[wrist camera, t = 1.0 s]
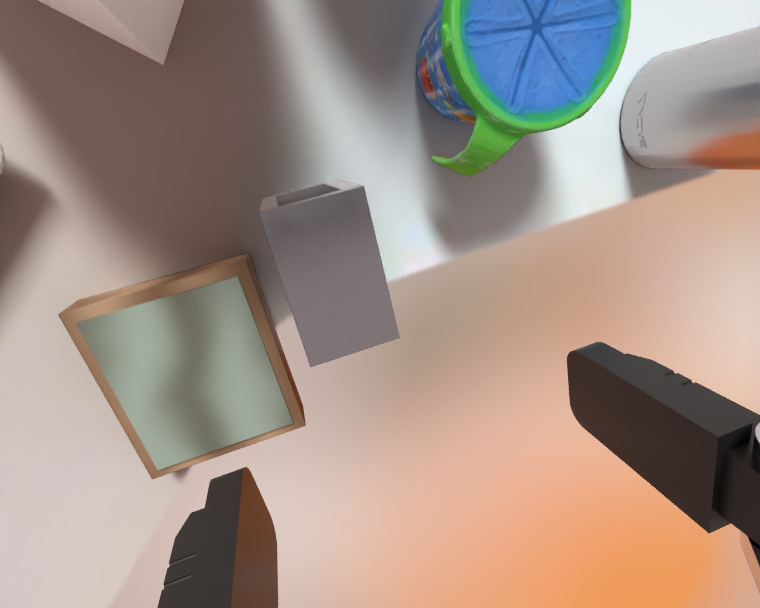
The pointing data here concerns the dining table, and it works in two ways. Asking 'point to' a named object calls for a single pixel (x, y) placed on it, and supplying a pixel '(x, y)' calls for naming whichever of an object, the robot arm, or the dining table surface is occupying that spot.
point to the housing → (330, 268)
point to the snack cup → (517, 67)
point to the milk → (128, 21)
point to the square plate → (2, 159)
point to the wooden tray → (188, 363)
